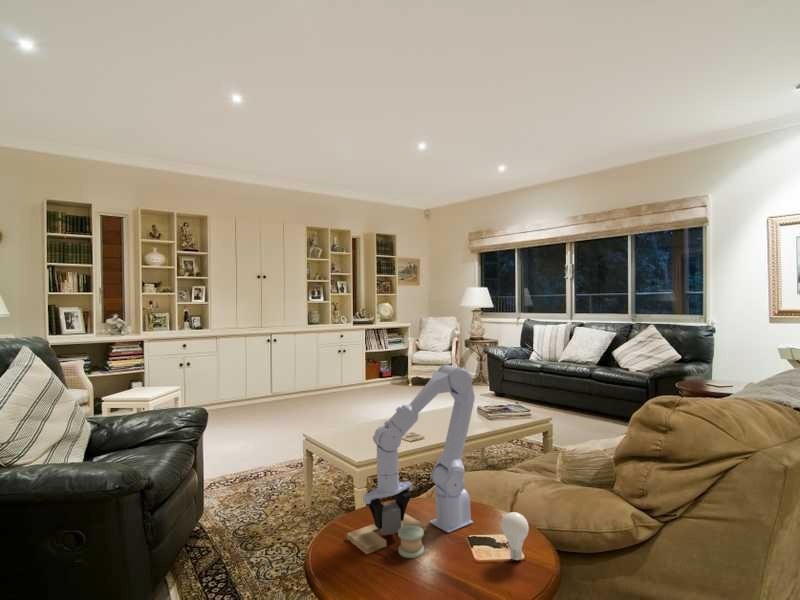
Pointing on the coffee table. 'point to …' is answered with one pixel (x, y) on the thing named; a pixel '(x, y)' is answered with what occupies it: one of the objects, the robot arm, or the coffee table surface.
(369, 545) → the notched board
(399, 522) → the block
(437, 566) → the coffee table surface
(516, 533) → the lightbulb
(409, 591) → the coffee table surface
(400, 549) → the bobbin
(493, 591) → the coffee table surface
